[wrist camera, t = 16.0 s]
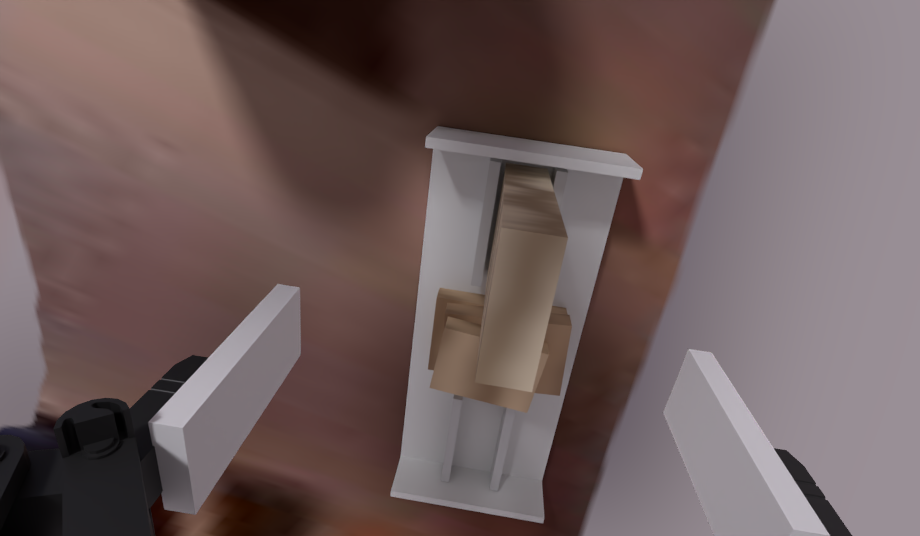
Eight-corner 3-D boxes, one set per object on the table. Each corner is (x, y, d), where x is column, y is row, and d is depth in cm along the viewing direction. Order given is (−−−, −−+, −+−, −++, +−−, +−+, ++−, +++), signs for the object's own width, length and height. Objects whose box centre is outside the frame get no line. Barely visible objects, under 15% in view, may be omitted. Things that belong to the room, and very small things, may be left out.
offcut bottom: (430, 357, 50) (427, 369, 48) (439, 287, 47) (436, 297, 45) (548, 377, 49) (550, 390, 47) (566, 307, 46) (568, 318, 44)
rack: (402, 453, 57) (390, 496, 51) (437, 125, 42) (425, 136, 36) (539, 477, 56) (542, 523, 51) (625, 153, 41) (643, 169, 36)
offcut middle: (443, 370, 48) (441, 382, 46) (447, 302, 45) (444, 313, 43) (557, 382, 47) (559, 395, 45) (569, 314, 44) (571, 326, 42)
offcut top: (432, 374, 46) (429, 387, 44) (447, 316, 43) (445, 328, 41) (526, 398, 46) (527, 413, 44) (547, 342, 43) (548, 354, 41)
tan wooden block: (487, 270, 45) (474, 382, 30) (505, 162, 41) (501, 227, 26) (525, 276, 45) (532, 392, 30) (547, 168, 41) (568, 238, 26)
